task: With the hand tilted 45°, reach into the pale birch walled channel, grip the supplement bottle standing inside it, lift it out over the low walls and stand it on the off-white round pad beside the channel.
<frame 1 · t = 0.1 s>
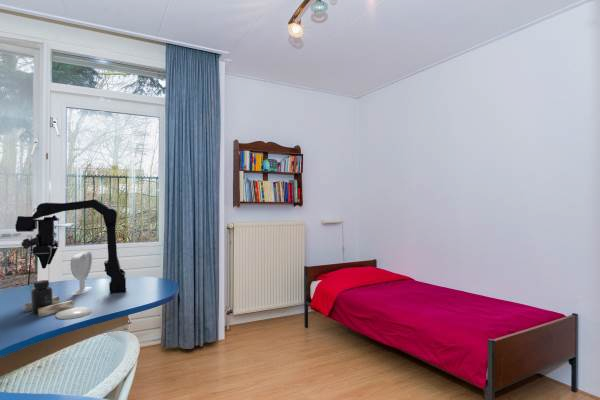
hand: (46, 266, 156), 15 cm above the table, fingers open, 9 cm apart
channel: (49, 309, 143), on the table
supplement bottle: (42, 311, 141), on the table
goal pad: (74, 313, 139), on the table
heart sculpture: (82, 290, 170), on the table
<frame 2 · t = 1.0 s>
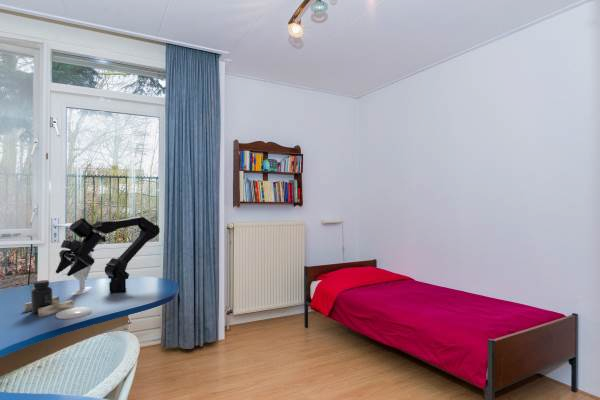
hand: (61, 274, 147), 13 cm above the table, fingers open, 9 cm apart
nothing on the table moved.
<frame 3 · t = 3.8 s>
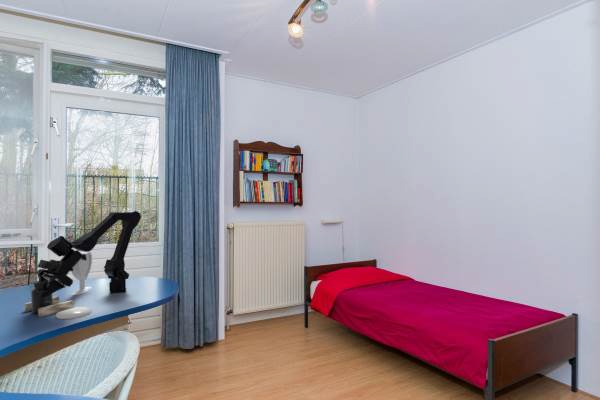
hand: (37, 295, 140), 7 cm above the table, fingers closed on supplement bottle, 7 cm apart
supplement bottle: (42, 311, 141), on the table, touching gripper
everything else where it was.
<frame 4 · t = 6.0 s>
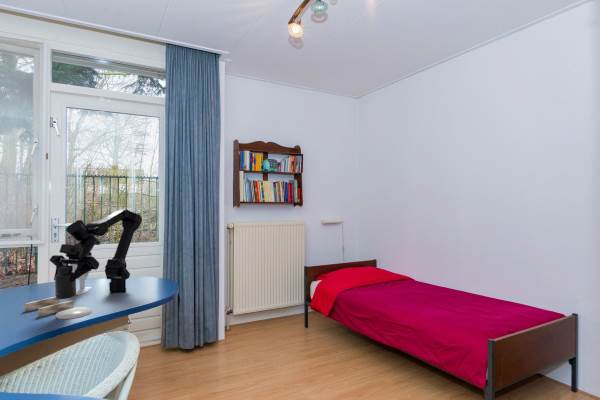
hand: (62, 280, 137), 13 cm above the table, fingers closed on supplement bottle, 7 cm apart
supplement bottle: (65, 297, 139), point 6 cm above the table, touching gripper
everything else where it was.
when the fingers open (8 cm above the table, at t = 8.4 s): supplement bottle stays where it is, resting on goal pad.
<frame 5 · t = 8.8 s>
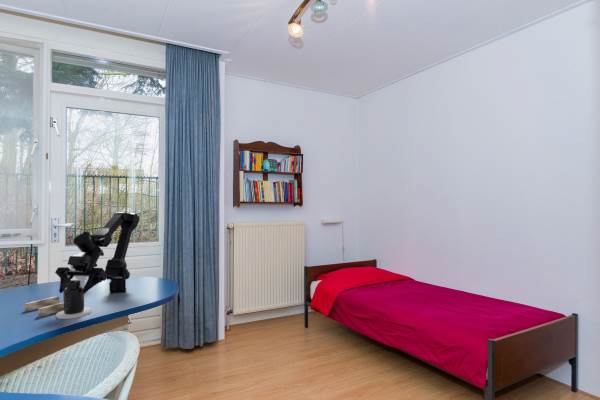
hand: (71, 292, 137), 9 cm above the table, fingers open, 9 cm apart
supplement bottle: (74, 312, 139), resting on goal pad
everything else where it was.
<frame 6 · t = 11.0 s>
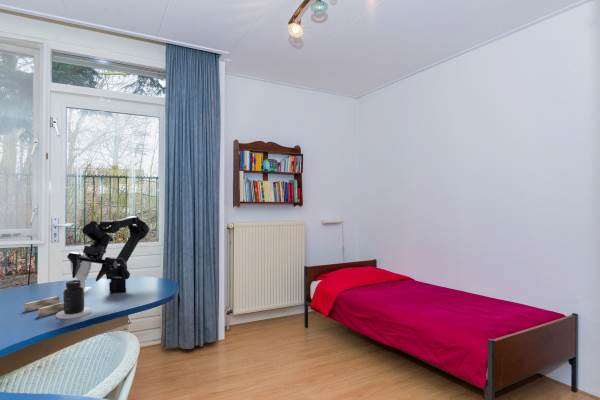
hand: (84, 279, 147), 11 cm above the table, fingers open, 9 cm apart
nothing on the table moved.
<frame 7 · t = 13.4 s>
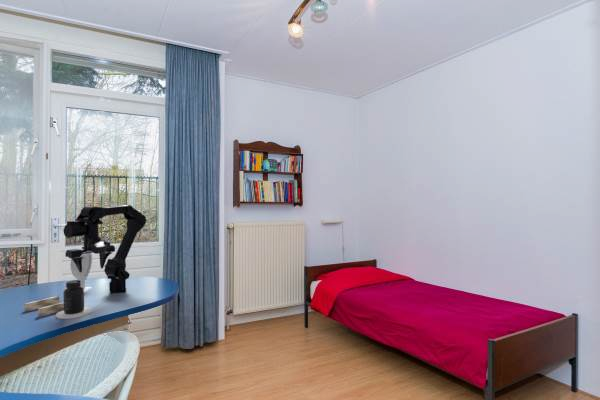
hand: (91, 270, 156), 13 cm above the table, fingers open, 9 cm apart
nothing on the table moved.
at the end: supplement bottle inside the target area on the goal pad (0.2 cm from its centre), point 0.4 cm above the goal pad's base; supplement bottle tilted 0°; the gripper is holding nothing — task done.
